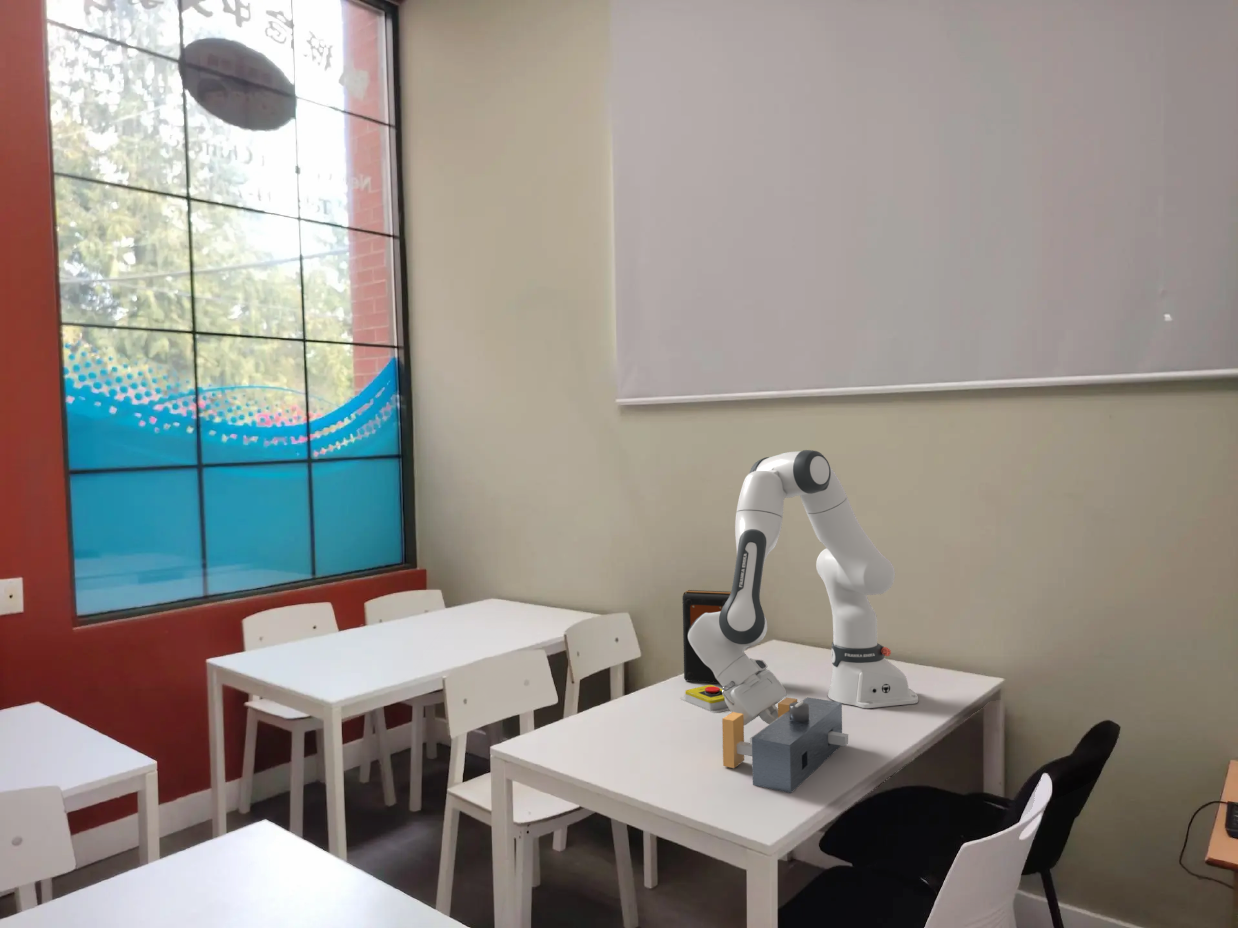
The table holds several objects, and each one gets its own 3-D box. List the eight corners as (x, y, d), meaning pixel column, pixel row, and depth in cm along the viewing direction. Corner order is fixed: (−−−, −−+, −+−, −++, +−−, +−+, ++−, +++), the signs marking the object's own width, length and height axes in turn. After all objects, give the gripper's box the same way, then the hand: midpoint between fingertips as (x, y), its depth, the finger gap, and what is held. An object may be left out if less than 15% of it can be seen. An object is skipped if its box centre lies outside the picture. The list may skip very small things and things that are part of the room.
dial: (786, 720, 184) (786, 704, 184) (793, 714, 187) (793, 699, 187) (804, 723, 182) (804, 707, 181) (811, 717, 185) (811, 701, 185)
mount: (750, 784, 175) (750, 737, 174) (806, 737, 200) (805, 696, 199) (790, 793, 170) (789, 744, 170) (842, 744, 195) (841, 702, 195)
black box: (742, 677, 249) (740, 590, 248) (735, 686, 241) (734, 596, 240) (688, 673, 254) (686, 588, 253) (680, 682, 246) (679, 593, 245)
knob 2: (778, 748, 193) (777, 703, 192) (787, 741, 197) (786, 697, 196) (843, 760, 185) (842, 713, 184) (850, 752, 189) (850, 707, 188)
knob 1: (723, 765, 183) (722, 718, 183) (733, 757, 188) (732, 711, 187) (788, 779, 175) (787, 730, 175) (797, 771, 180) (797, 722, 179)
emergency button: (714, 697, 218) (678, 683, 231) (714, 715, 219) (678, 700, 231) (742, 690, 224) (705, 677, 236) (743, 707, 224) (705, 693, 236)
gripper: (728, 680, 190) (770, 732, 185) (766, 658, 207) (806, 706, 202) (710, 697, 193) (751, 749, 188) (749, 674, 210) (788, 721, 205)
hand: (780, 726), depth 195 cm, fingers closed, pressing on knob 2
